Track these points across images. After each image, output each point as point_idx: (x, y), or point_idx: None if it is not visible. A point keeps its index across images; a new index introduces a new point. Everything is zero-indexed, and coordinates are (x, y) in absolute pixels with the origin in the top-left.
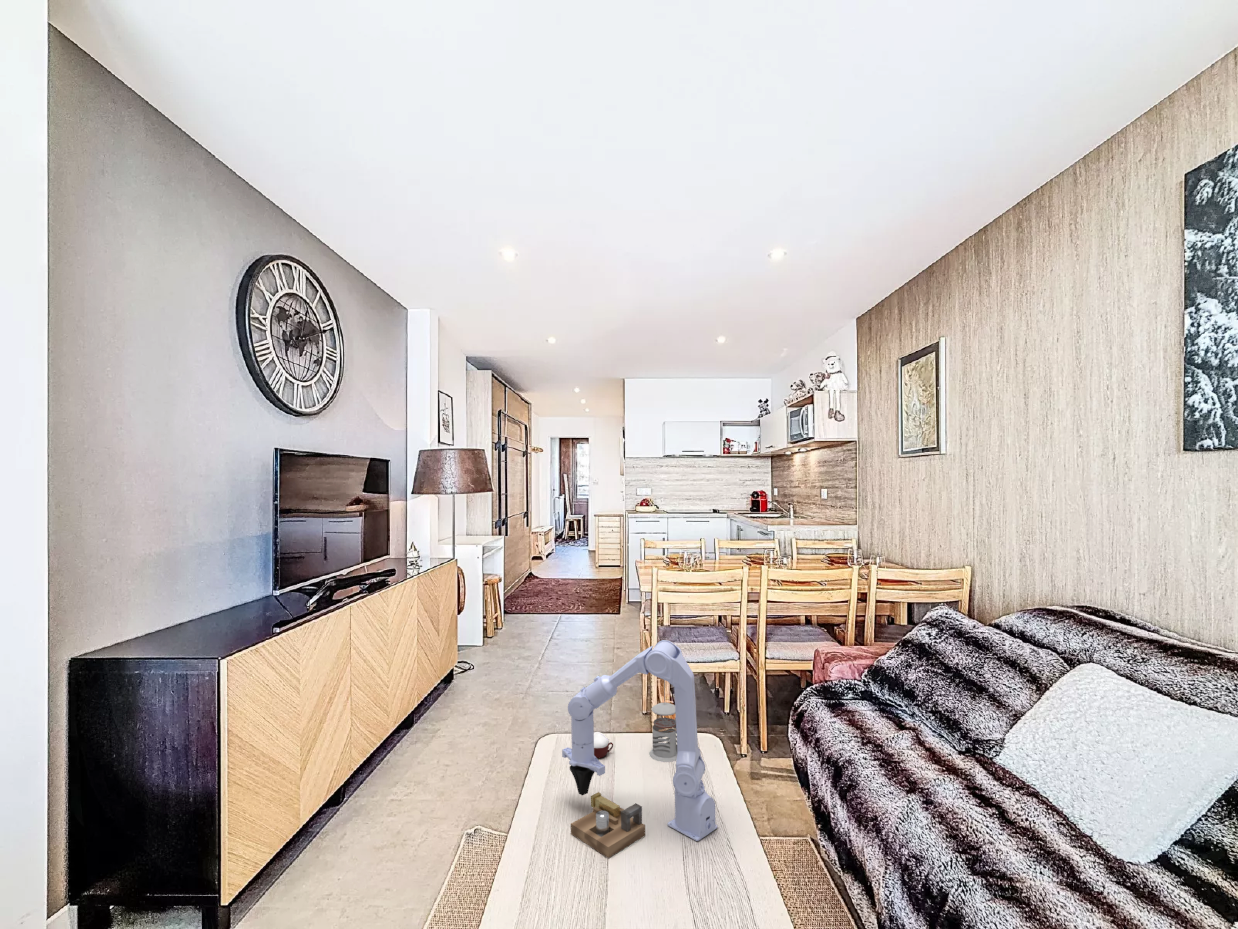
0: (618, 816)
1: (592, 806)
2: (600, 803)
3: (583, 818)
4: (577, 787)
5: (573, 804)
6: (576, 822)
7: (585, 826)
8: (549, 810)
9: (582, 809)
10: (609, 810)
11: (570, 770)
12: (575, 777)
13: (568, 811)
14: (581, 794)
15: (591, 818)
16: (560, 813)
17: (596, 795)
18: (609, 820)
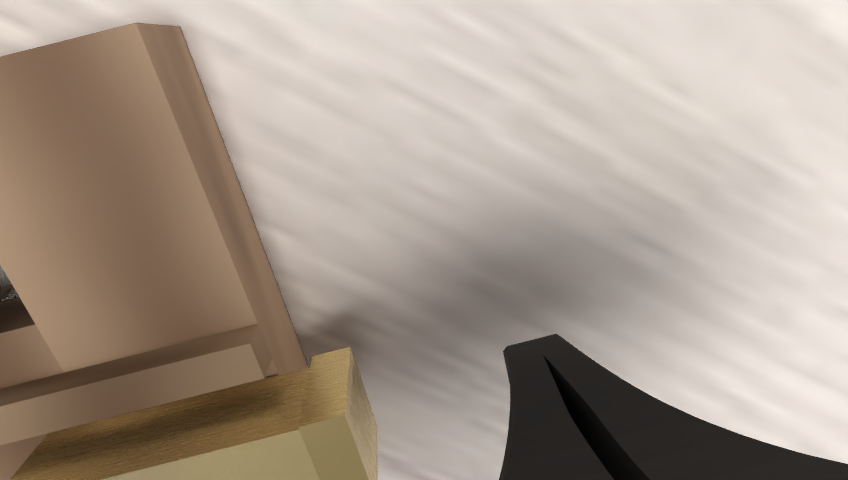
0: None
1: (327, 357)
2: (208, 439)
3: (178, 197)
4: (585, 362)
5: (598, 256)
6: (133, 95)
7: (12, 147)
8: (655, 28)
9: (489, 286)
10: (78, 459)
11: (832, 464)
12: (661, 435)
13: (532, 175)
14: (512, 349)
15: (146, 267)
16: (548, 98)
17: (321, 467)
18: (9, 391)
